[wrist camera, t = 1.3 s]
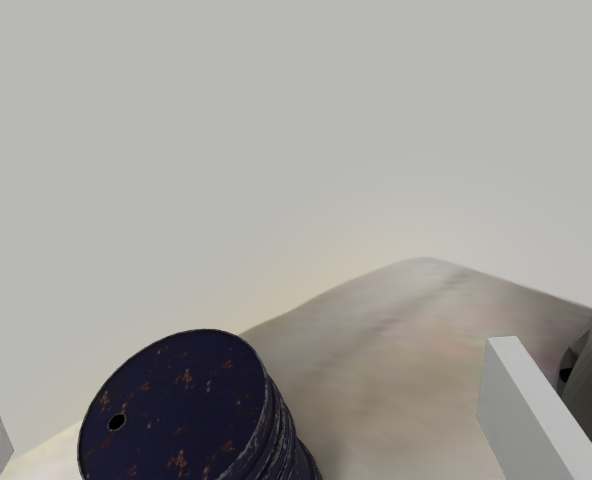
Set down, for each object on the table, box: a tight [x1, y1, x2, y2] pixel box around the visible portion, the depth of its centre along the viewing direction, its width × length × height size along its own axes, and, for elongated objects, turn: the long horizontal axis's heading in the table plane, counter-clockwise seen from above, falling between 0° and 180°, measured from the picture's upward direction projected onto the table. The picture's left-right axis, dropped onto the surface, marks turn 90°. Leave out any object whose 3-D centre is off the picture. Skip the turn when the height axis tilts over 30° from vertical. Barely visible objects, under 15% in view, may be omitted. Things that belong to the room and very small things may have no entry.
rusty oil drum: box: [77, 329, 323, 480], centre depth 29 cm, size 10×10×15 cm
